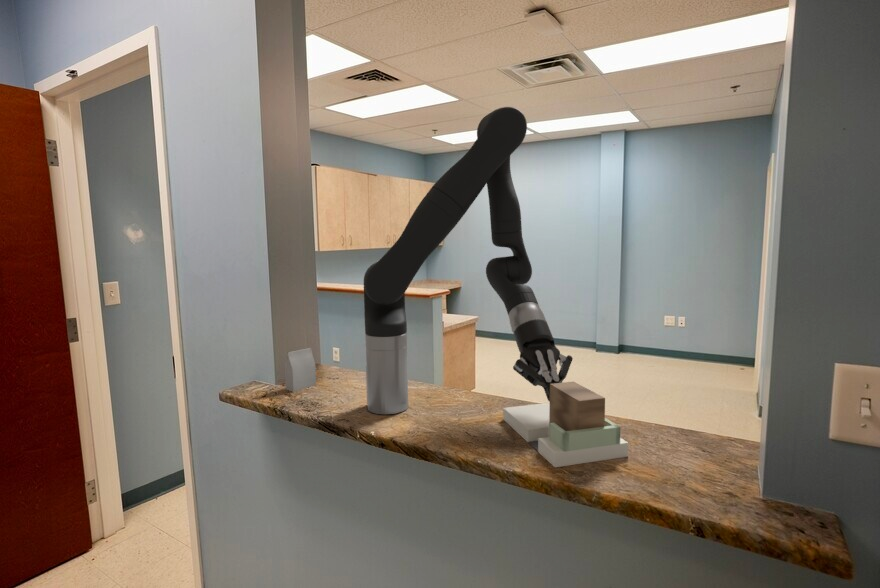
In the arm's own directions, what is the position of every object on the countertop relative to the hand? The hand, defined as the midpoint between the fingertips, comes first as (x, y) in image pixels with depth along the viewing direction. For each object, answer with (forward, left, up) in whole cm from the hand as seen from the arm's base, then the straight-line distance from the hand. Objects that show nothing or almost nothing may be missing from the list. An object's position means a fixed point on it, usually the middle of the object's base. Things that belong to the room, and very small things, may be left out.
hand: (557, 402), depth 89 cm
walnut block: (+6, -2, -4) cm, 7 cm away
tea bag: (-60, -30, -7) cm, 67 cm away
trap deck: (+1, 0, -6) cm, 6 cm away
